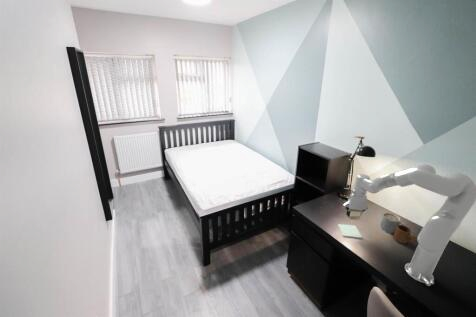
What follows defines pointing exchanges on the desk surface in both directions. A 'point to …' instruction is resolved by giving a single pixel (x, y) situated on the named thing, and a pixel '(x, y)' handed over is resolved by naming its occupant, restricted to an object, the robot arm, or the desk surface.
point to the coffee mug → (390, 222)
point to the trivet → (349, 231)
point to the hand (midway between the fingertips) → (353, 215)
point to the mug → (403, 234)
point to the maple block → (355, 214)
